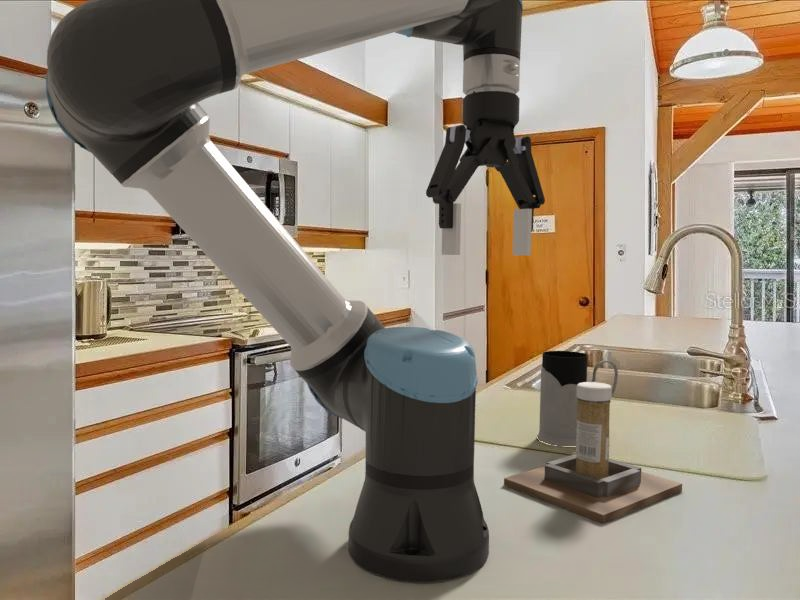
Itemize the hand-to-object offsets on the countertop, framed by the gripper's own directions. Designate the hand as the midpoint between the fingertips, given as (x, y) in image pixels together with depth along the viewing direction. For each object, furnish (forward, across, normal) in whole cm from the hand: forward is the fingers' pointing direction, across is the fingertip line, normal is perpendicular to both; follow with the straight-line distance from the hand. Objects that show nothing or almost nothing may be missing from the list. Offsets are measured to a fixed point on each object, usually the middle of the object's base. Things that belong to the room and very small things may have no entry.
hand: (487, 255), depth 89 cm
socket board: (+32, +11, -10) cm, 35 cm away
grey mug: (+32, +29, +6) cm, 44 cm away
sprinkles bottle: (+31, +11, -10) cm, 34 cm away
